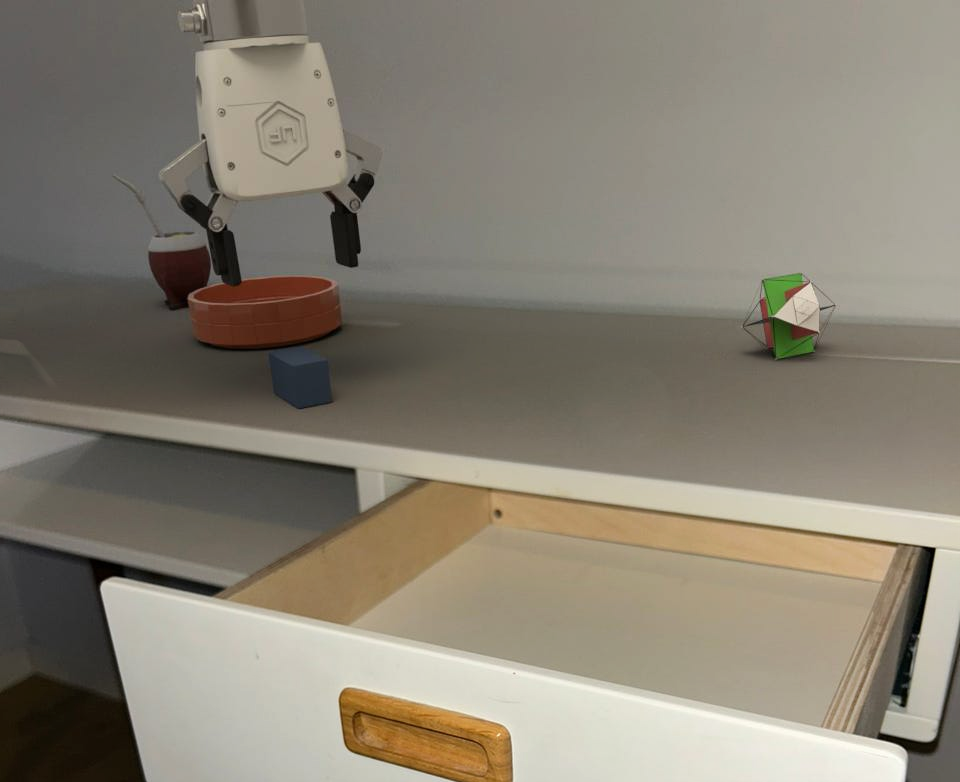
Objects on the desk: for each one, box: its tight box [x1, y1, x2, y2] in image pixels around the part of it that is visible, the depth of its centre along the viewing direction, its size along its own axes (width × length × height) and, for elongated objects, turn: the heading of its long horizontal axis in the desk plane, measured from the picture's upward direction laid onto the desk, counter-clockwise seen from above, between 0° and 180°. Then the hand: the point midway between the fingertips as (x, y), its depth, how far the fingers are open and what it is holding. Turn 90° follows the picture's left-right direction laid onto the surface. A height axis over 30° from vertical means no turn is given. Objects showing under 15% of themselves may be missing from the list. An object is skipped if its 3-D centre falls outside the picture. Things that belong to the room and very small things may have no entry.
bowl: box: [187, 275, 343, 350], centre depth 111 cm, size 15×15×4 cm
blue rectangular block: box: [267, 345, 333, 410], centre depth 88 cm, size 3×6×4 cm, turn 29°
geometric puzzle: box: [740, 271, 838, 361], centre depth 91 cm, size 7×7×8 cm
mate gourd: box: [111, 173, 212, 311], centre depth 125 cm, size 8×8×15 cm
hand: (291, 274), depth 84 cm, fingers open, 9 cm apart
